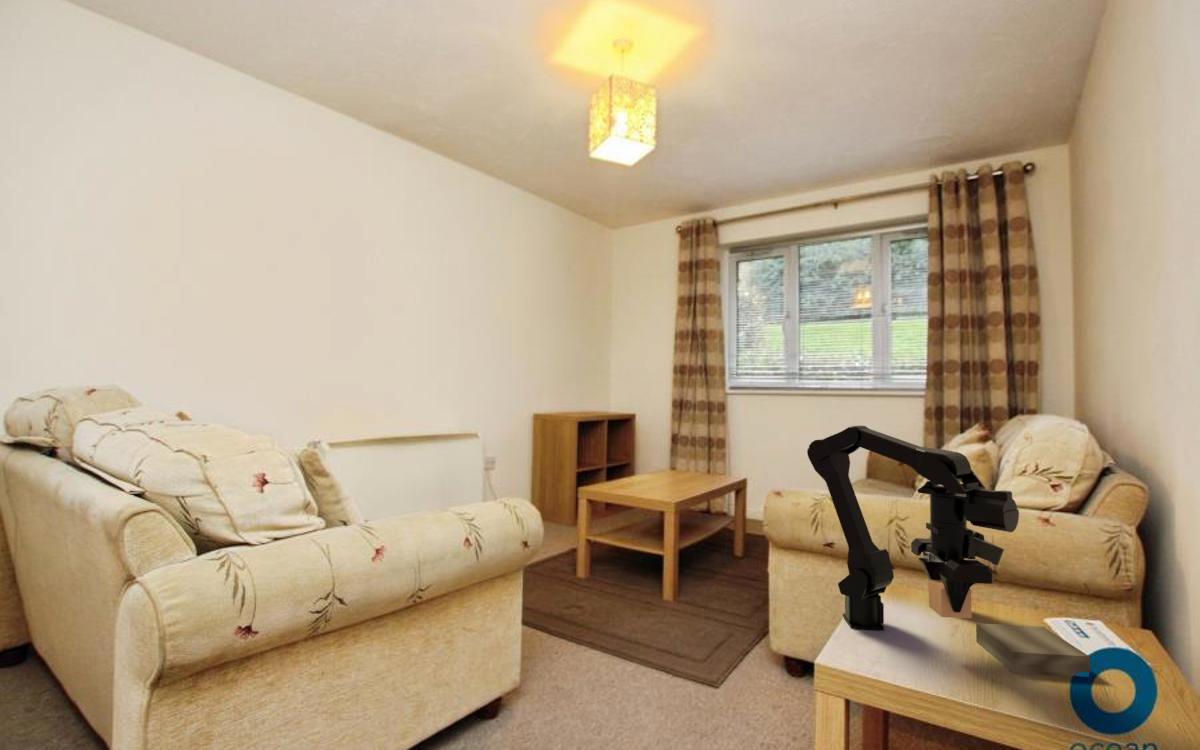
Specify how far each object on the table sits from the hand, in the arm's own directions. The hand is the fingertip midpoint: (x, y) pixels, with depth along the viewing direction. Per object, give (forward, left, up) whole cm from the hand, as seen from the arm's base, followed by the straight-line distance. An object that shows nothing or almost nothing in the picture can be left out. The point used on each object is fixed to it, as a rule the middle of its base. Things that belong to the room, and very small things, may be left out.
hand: (949, 606), depth 103 cm
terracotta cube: (0, 0, -1) cm, 1 cm away
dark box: (+14, +1, -10) cm, 17 cm away
